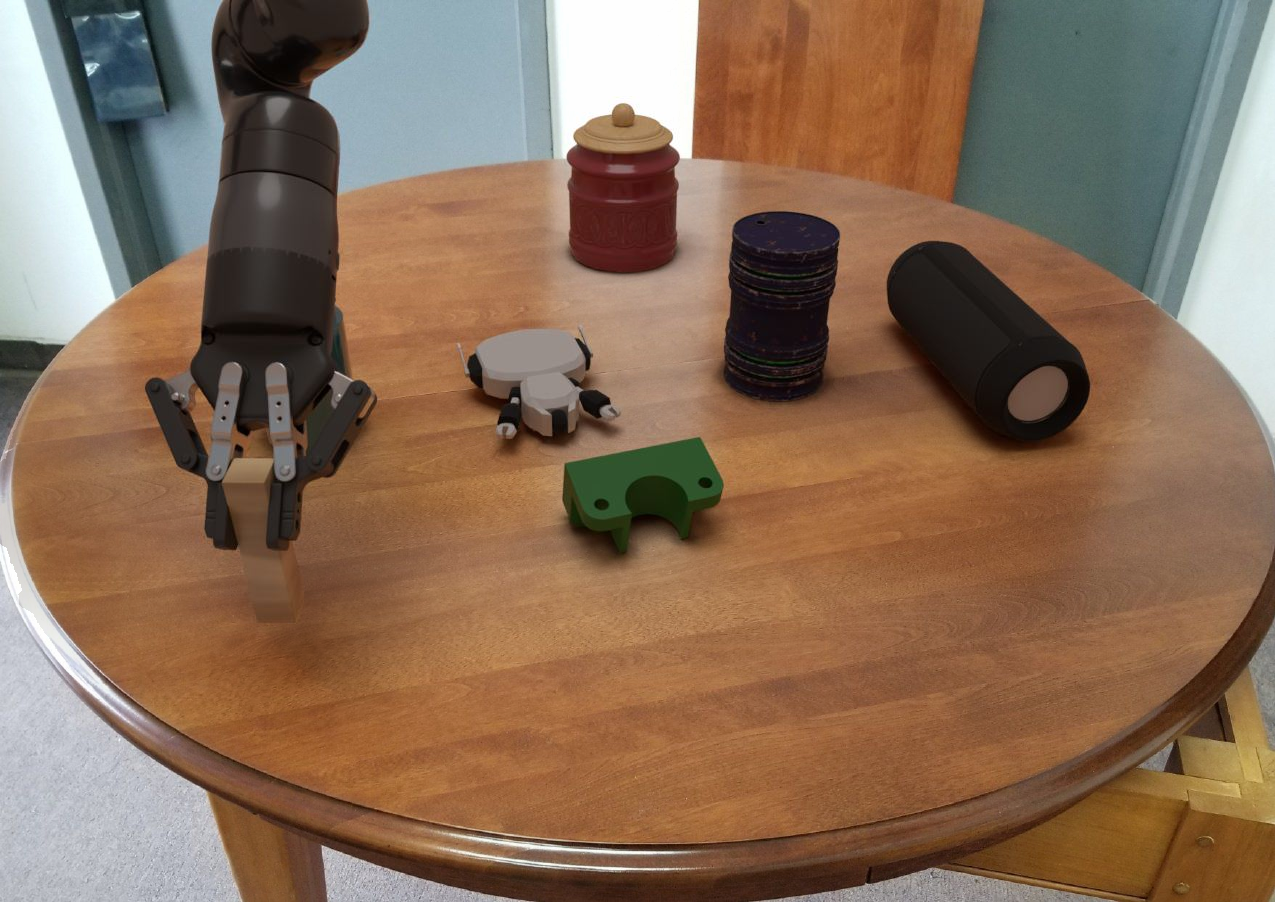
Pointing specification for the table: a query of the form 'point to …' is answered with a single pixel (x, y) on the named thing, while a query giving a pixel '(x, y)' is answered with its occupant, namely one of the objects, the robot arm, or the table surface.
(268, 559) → the stick
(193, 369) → the robot arm
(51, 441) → the table surface
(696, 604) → the table surface
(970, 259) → the portable speaker
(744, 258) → the dark blue cylinder
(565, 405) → the robot toy
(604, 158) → the kitchen canister
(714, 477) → the clamp
